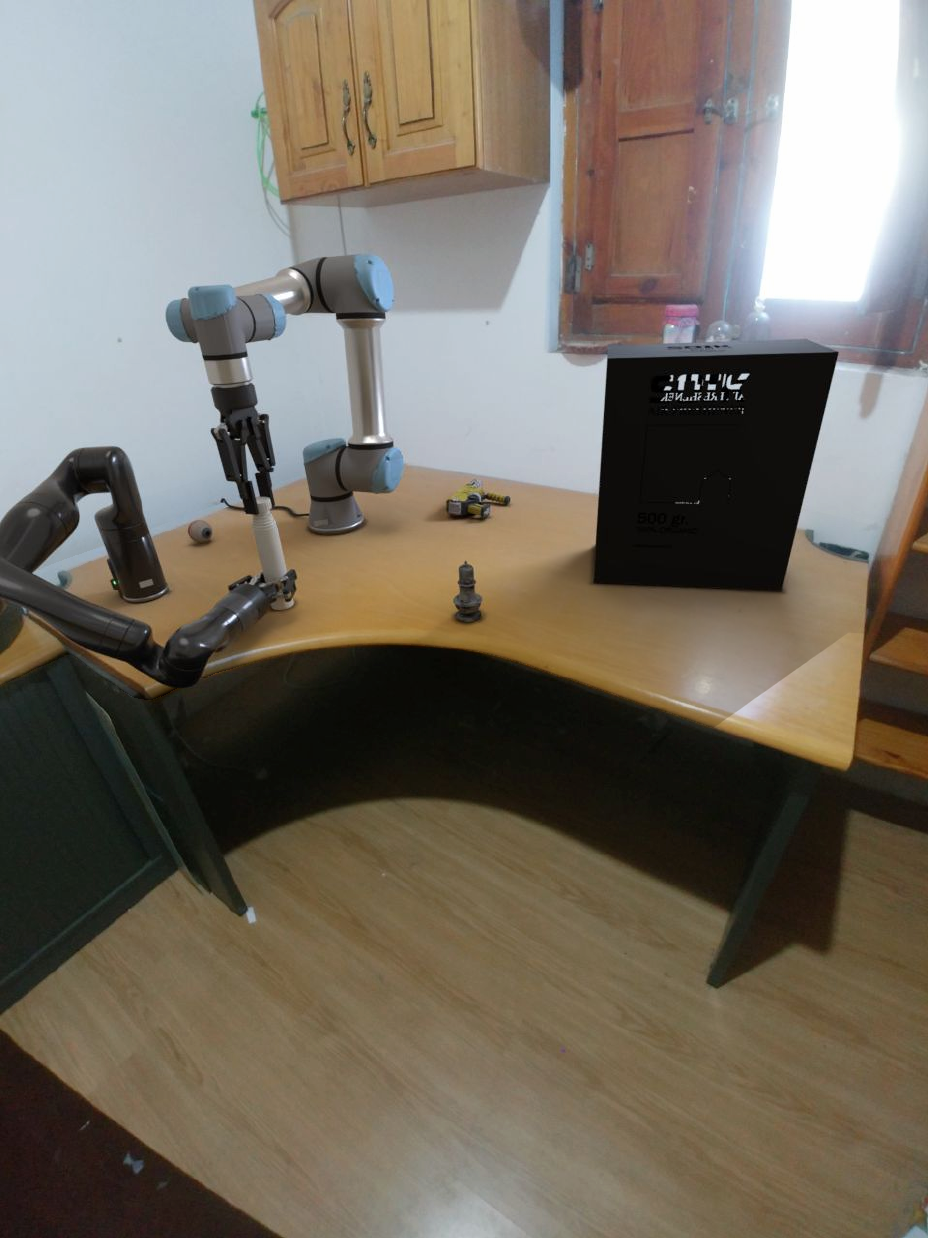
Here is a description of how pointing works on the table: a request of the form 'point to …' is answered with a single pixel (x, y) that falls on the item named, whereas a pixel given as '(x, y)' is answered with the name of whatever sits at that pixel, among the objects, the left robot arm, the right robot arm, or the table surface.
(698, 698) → the table surface
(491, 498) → the toy gun
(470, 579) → the grey tall ringed piece
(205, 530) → the eyeball
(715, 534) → the cardboard box
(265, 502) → the cap
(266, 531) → the bottle
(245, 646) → the table surface
